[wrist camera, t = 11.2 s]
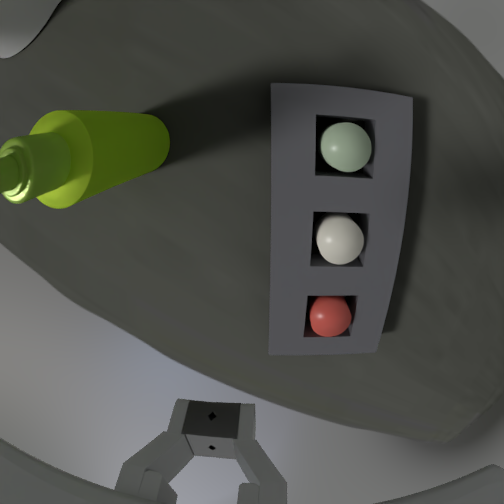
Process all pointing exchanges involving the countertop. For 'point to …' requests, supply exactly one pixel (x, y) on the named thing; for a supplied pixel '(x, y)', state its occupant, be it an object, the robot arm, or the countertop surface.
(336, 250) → the button cream
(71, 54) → the countertop surface
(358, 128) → the button sage
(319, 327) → the button red
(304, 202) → the console
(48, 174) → the soap dispenser
